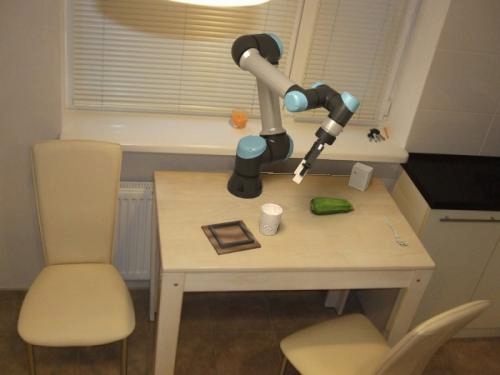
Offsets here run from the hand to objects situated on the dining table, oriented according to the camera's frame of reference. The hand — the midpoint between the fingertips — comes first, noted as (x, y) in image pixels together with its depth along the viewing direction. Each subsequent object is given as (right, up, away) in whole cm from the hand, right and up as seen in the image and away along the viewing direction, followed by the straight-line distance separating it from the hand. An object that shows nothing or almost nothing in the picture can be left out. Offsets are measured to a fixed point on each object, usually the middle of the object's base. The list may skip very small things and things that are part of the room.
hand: (296, 178), depth 205 cm
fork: (+41, -21, +19) cm, 50 cm away
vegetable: (+17, -14, +23) cm, 32 cm away
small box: (+32, -3, +46) cm, 56 cm away
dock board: (-25, -22, -3) cm, 33 cm away
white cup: (-11, -20, +5) cm, 23 cm away
